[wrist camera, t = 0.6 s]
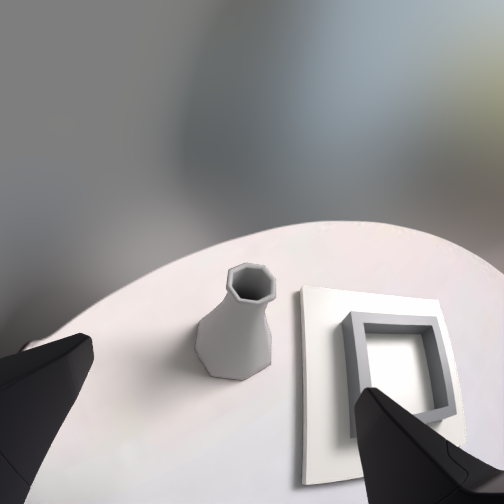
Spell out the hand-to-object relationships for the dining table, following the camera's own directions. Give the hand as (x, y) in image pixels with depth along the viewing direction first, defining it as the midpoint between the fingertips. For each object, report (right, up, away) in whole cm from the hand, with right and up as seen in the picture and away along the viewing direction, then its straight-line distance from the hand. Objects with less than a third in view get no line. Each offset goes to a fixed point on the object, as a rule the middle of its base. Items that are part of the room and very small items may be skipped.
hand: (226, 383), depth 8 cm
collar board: (+15, -9, +16) cm, 24 cm away
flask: (-1, -5, +17) cm, 18 cm away
